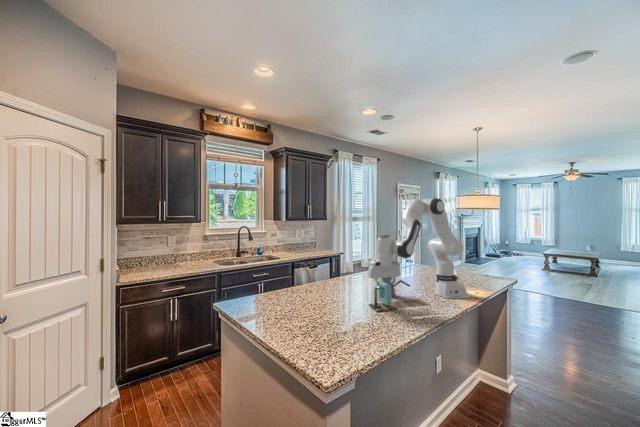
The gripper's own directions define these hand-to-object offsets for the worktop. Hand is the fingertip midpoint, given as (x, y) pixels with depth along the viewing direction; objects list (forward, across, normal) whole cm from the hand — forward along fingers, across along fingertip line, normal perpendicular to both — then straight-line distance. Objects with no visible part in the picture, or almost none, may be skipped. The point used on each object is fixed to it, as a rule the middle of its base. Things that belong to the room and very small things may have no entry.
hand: (384, 284), depth 170 cm
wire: (+13, -4, 0) cm, 14 cm away
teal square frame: (+11, 0, 0) cm, 11 cm away
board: (+14, -10, 0) cm, 17 cm away
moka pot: (+14, -13, -20) cm, 27 cm away
